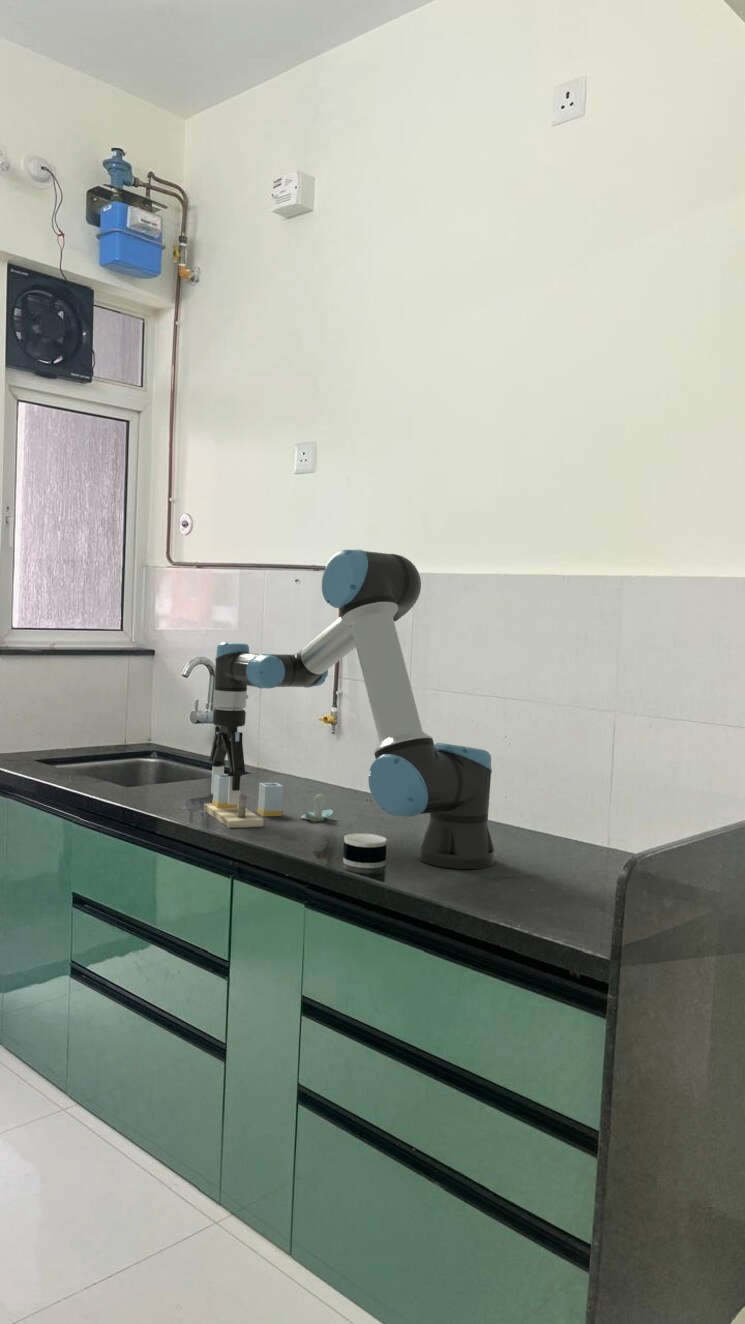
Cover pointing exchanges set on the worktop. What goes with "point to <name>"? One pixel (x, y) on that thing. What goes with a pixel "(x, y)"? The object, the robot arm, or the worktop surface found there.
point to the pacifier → (317, 810)
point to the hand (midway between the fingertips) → (225, 798)
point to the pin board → (235, 815)
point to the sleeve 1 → (221, 792)
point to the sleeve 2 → (270, 799)
